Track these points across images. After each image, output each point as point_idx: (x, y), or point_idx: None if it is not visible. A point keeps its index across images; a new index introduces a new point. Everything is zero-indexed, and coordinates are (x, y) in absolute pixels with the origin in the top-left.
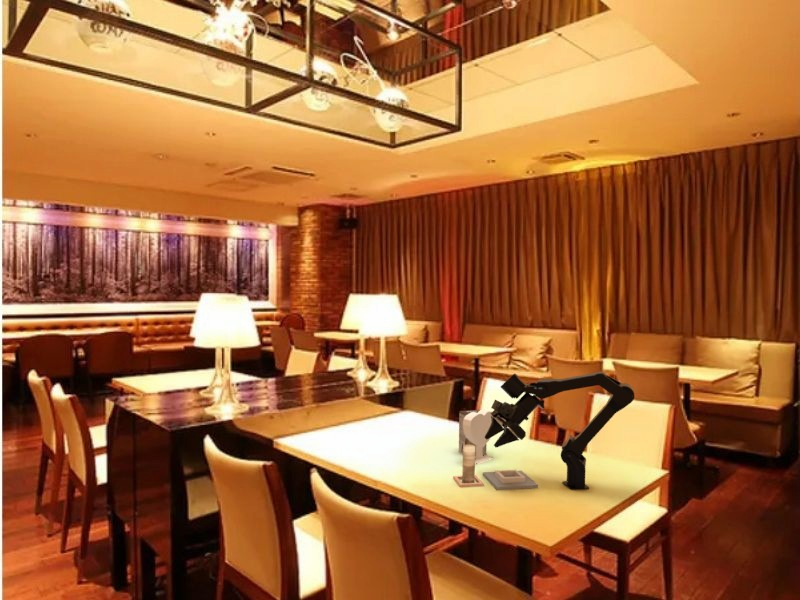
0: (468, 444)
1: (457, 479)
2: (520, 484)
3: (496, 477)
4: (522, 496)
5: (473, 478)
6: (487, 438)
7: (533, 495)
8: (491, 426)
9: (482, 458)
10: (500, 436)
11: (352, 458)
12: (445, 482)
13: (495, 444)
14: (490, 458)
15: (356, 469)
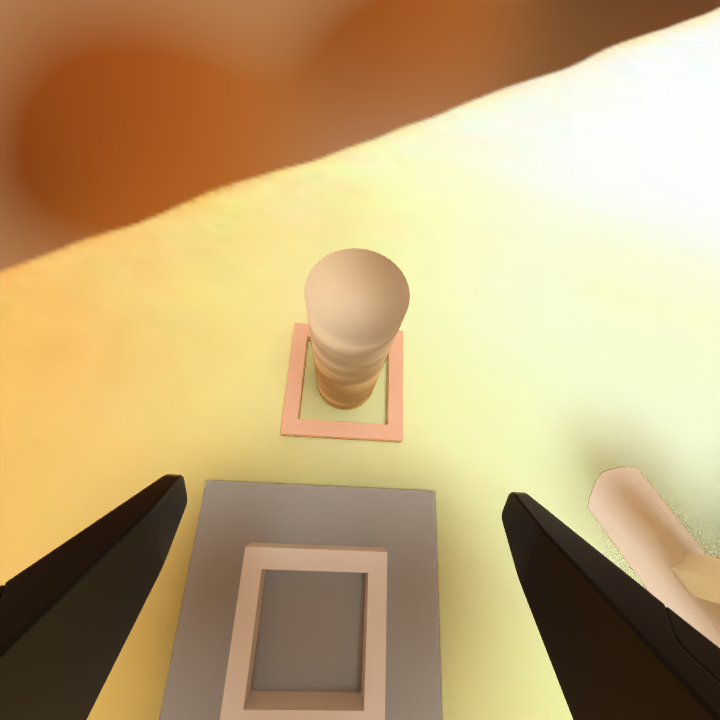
0: (405, 302)
1: None
2: (194, 653)
3: (342, 539)
4: None
5: (321, 391)
6: (508, 528)
7: None
8: (682, 672)
9: (687, 594)
10: (32, 601)
11: (619, 104)
12: None
13: (150, 489)
14: None
15: (515, 93)
